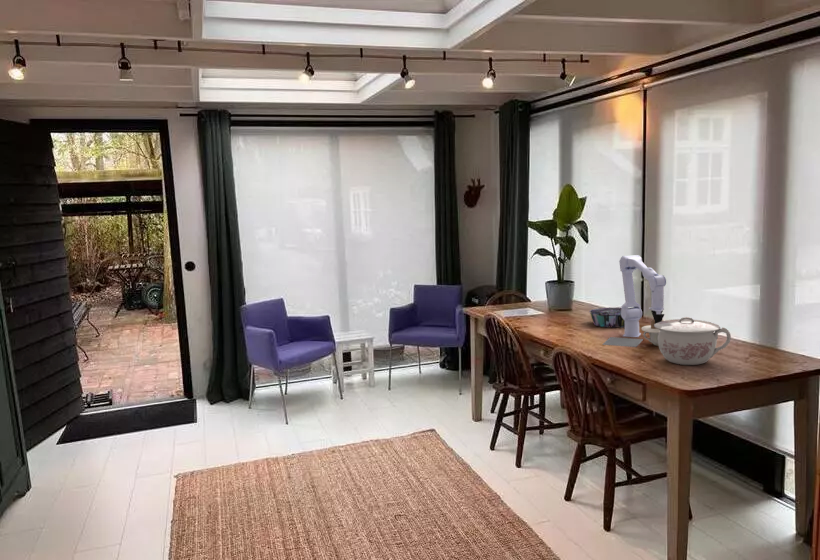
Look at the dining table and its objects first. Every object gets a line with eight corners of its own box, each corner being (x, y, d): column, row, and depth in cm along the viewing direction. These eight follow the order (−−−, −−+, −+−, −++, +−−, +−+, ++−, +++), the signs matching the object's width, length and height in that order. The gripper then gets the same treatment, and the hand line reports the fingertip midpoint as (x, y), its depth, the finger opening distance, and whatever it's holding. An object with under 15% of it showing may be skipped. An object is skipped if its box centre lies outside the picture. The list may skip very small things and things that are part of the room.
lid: (640, 326, 316) (640, 317, 316) (671, 326, 312) (671, 317, 311) (642, 332, 302) (642, 323, 302) (674, 333, 298) (674, 323, 297)
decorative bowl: (642, 331, 349) (643, 314, 348) (593, 329, 351) (594, 312, 349) (628, 322, 375) (629, 306, 373) (583, 320, 376) (584, 305, 375)
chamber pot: (640, 359, 283) (640, 316, 280) (683, 351, 294) (683, 309, 291) (690, 373, 257) (690, 325, 255) (735, 363, 268) (736, 317, 266)
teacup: (670, 342, 311) (670, 327, 310) (673, 347, 301) (673, 332, 300) (642, 342, 315) (641, 327, 314) (644, 347, 305) (644, 331, 304)
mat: (610, 337, 329) (610, 337, 329) (643, 340, 320) (643, 339, 320) (602, 345, 314) (602, 344, 314) (636, 347, 305) (636, 347, 305)
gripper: (648, 297, 313) (648, 322, 315) (649, 301, 299) (650, 328, 301) (662, 297, 311) (662, 322, 313) (665, 301, 297) (665, 328, 299)
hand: (657, 325), depth 307 cm, fingers open, 7 cm apart
